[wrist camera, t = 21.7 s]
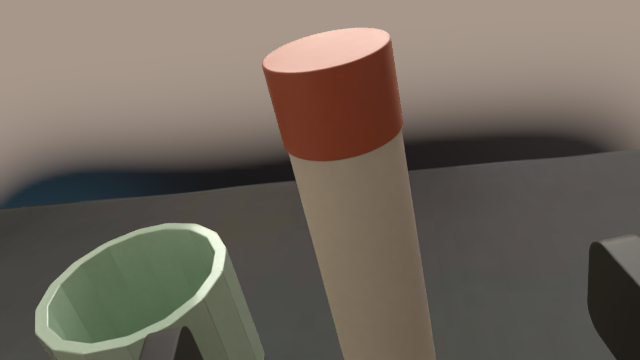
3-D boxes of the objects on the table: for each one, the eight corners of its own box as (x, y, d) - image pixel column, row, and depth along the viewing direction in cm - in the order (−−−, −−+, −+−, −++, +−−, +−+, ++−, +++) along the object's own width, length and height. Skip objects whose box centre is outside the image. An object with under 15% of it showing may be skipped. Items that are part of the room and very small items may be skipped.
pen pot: (238, 306, 35) (199, 203, 31) (292, 406, 28) (250, 287, 24) (96, 373, 33) (35, 271, 29) (113, 505, 25) (33, 389, 21)
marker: (412, 362, 28) (351, 21, 20) (464, 421, 25) (417, 38, 16) (343, 402, 27) (244, 57, 19) (387, 469, 24) (291, 83, 15)
